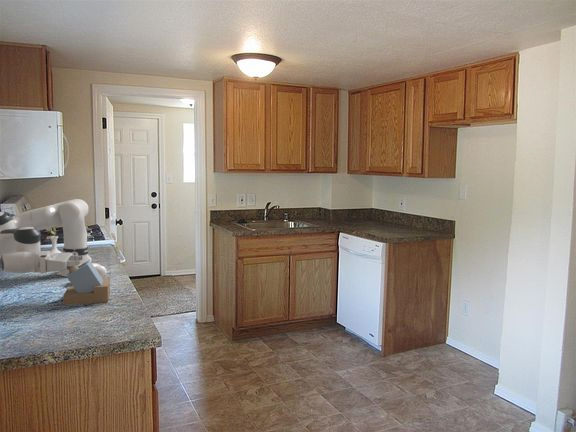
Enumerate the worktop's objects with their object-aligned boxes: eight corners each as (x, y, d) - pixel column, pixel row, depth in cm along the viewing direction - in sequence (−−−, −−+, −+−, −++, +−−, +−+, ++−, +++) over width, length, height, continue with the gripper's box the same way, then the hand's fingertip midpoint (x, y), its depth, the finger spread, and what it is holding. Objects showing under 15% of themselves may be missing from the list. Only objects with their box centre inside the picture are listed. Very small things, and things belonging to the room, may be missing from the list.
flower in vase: (44, 258, 283) (42, 217, 280) (65, 257, 288) (64, 216, 285) (43, 262, 271) (41, 219, 268) (65, 261, 276) (63, 219, 273)
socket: (68, 295, 206) (67, 259, 204) (110, 293, 211) (109, 258, 209) (63, 304, 193) (62, 266, 191) (107, 302, 198) (107, 264, 196)
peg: (85, 286, 203) (66, 266, 200) (92, 281, 203) (73, 261, 200) (84, 288, 200) (65, 267, 197) (91, 283, 200) (71, 262, 197)
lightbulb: (91, 291, 214) (90, 267, 213) (93, 287, 220) (92, 264, 219) (106, 290, 216) (105, 266, 215) (107, 286, 222) (107, 263, 221)
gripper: (50, 263, 206) (84, 262, 210) (40, 274, 186) (78, 272, 190) (49, 249, 205) (83, 248, 209) (39, 258, 186) (77, 257, 190)
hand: (81, 260), depth 200 cm, fingers open, 8 cm apart
